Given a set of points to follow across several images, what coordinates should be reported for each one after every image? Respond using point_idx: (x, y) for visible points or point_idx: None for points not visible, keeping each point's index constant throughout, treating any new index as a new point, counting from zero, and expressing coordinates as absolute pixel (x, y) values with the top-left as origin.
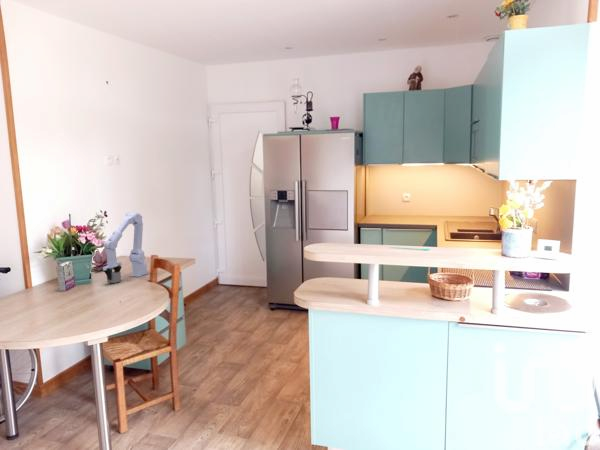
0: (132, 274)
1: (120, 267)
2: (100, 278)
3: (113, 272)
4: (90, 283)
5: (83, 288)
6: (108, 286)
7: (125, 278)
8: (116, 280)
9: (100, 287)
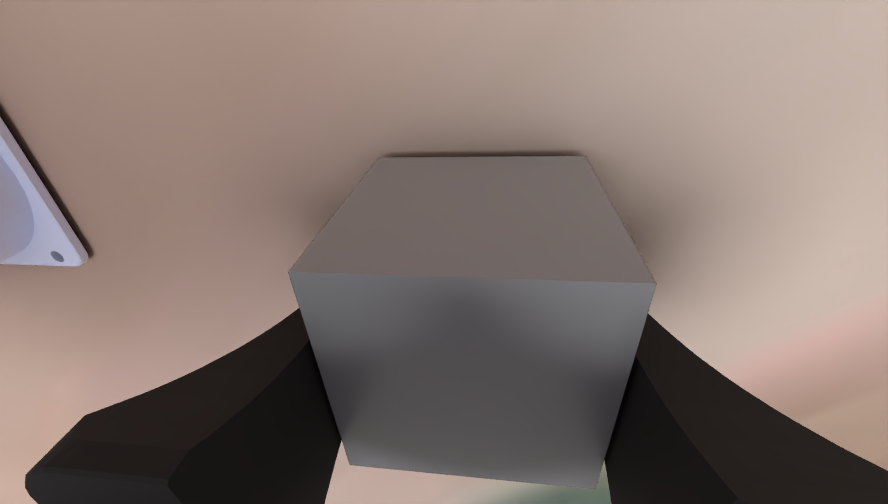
0: (32, 260)
1: (125, 440)
2: (392, 483)
3: (441, 414)
4: (605, 473)
5: (883, 433)
6: (788, 140)
7: (211, 233)
8: (520, 173)
9: (860, 247)
